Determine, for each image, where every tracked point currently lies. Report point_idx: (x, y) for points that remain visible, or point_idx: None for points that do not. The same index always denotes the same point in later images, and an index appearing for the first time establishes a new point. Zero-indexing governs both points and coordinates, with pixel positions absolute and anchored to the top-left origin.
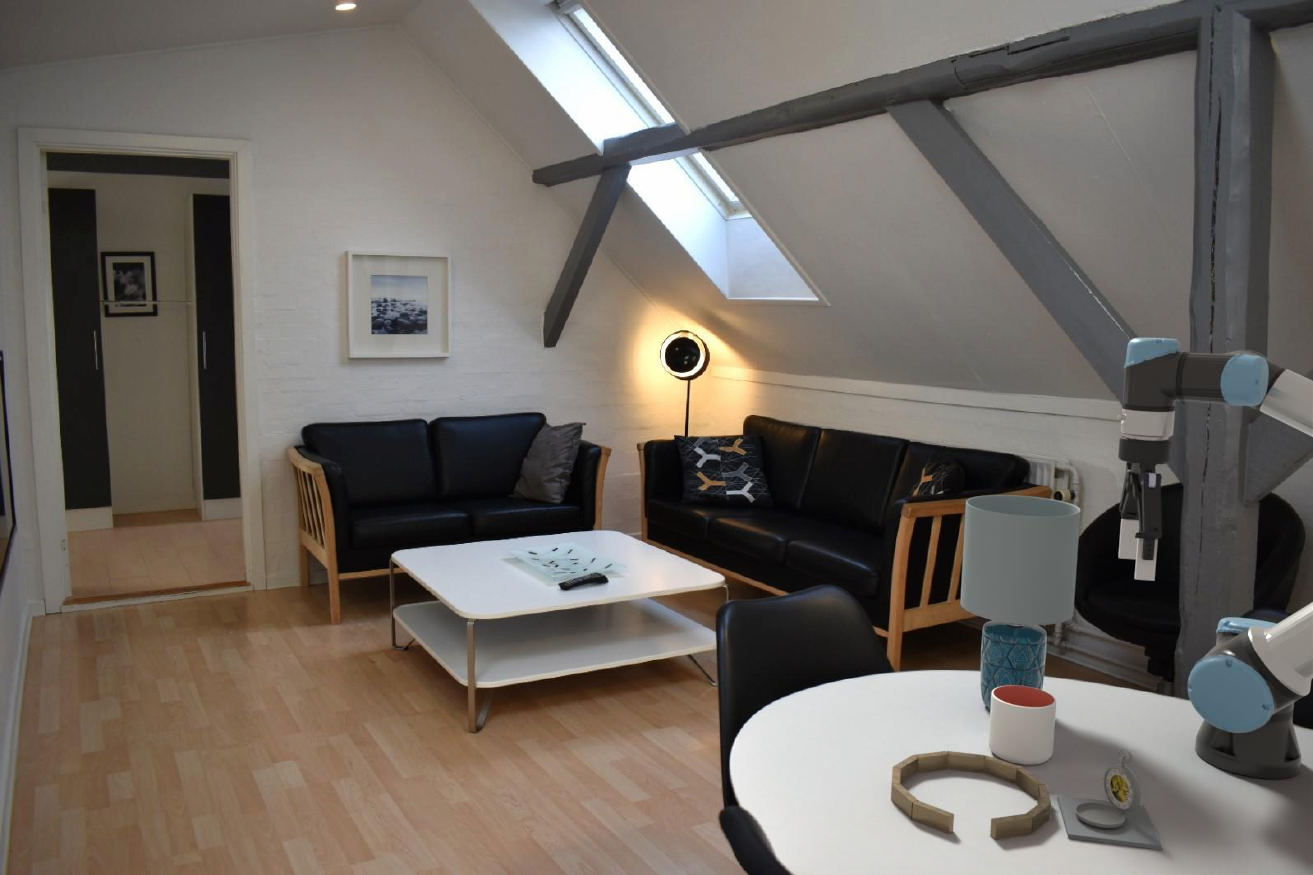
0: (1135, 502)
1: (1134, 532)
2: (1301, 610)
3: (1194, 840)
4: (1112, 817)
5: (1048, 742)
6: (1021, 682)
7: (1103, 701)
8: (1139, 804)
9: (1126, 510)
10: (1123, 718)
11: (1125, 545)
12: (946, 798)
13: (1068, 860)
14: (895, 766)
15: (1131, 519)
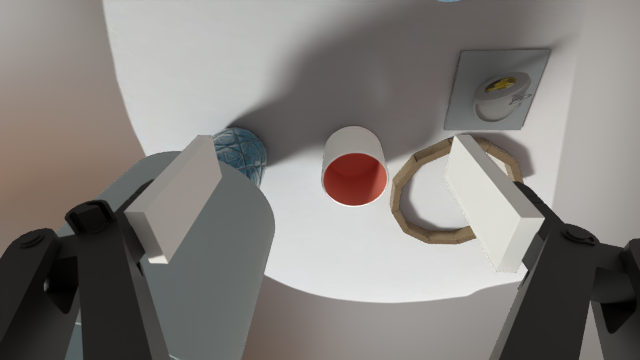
0: (150, 323)
1: (177, 194)
2: None
3: (532, 8)
4: (494, 89)
5: (374, 139)
6: (260, 163)
7: (166, 46)
8: (461, 55)
9: (148, 291)
10: (213, 29)
11: (204, 187)
12: (448, 205)
13: (556, 132)
14: (427, 242)
15: (135, 234)
